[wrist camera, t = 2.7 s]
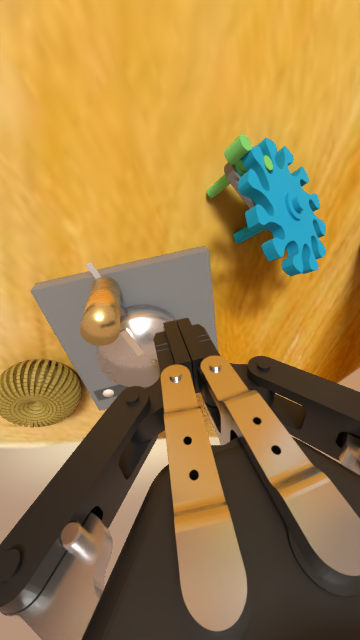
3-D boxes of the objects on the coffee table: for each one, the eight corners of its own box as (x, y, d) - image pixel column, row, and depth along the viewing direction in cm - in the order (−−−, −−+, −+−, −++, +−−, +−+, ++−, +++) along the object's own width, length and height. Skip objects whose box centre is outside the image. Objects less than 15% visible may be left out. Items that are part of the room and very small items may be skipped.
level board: (202, 232, 21) (208, 236, 19) (216, 370, 31) (220, 379, 29) (28, 270, 19) (21, 277, 18) (101, 402, 29) (100, 413, 28)
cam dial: (208, 376, 28) (227, 420, 23) (149, 404, 28) (155, 454, 24) (140, 255, 19) (147, 286, 14) (54, 300, 19) (31, 345, 14)
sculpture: (70, 375, 21) (84, 428, 25) (77, 347, 24) (89, 398, 29) (-33, 386, 20) (1, 441, 24) (-11, 354, 23) (15, 408, 27)
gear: (340, 214, 21) (324, 299, 16) (279, 242, 26) (253, 314, 21) (271, 93, 16) (223, 163, 12) (213, 154, 21) (163, 220, 17)
